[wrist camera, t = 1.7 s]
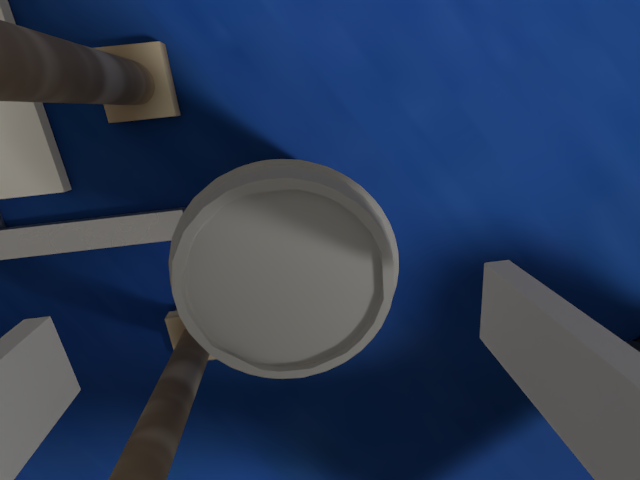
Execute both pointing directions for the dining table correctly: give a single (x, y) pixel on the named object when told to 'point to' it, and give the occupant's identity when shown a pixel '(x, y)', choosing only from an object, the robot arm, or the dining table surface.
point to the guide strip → (88, 233)
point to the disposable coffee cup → (283, 268)
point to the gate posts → (120, 106)
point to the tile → (27, 146)
